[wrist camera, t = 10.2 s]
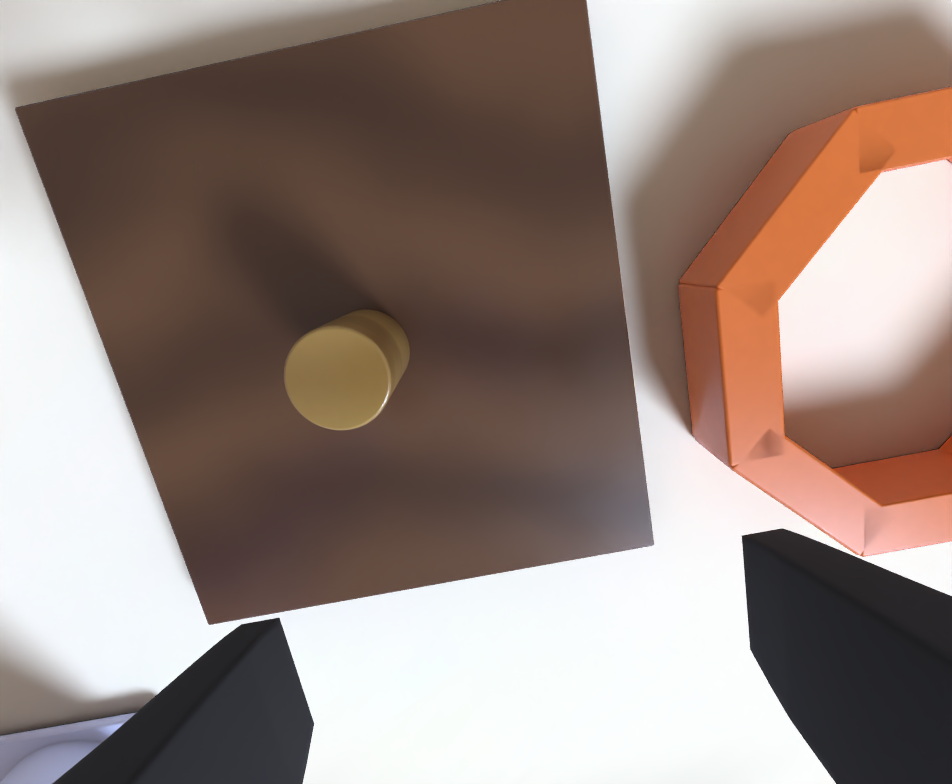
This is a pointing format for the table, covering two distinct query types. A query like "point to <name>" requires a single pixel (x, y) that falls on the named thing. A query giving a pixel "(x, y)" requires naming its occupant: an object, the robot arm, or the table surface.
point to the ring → (758, 338)
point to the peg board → (363, 304)
